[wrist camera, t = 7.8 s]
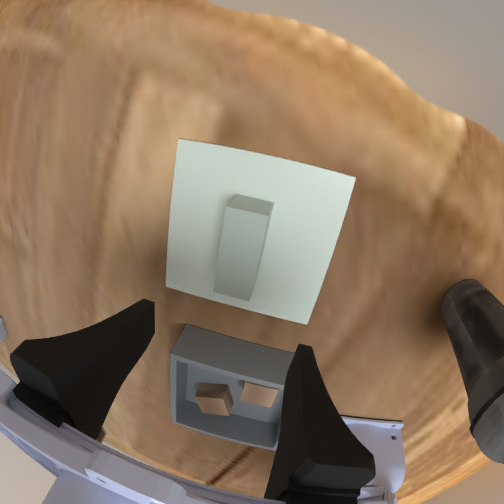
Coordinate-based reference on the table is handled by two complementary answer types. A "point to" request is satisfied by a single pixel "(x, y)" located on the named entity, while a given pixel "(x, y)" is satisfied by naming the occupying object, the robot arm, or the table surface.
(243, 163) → the lid
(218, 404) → the wooden block
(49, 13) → the table surface
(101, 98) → the table surface
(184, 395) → the storage box
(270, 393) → the wooden block
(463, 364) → the beverage cup
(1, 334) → the medicine box
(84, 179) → the table surface
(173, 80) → the table surface
